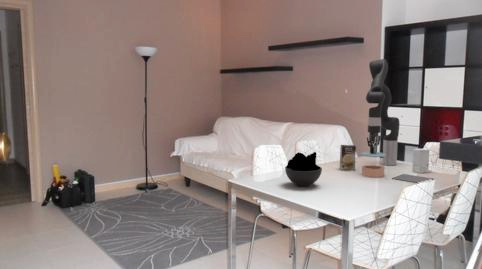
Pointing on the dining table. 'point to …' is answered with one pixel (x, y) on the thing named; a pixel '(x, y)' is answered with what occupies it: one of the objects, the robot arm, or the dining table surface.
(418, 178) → the mat
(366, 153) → the lid
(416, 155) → the skincare box
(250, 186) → the dining table surface
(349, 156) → the coffee box
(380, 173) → the bowl
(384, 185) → the dining table surface
